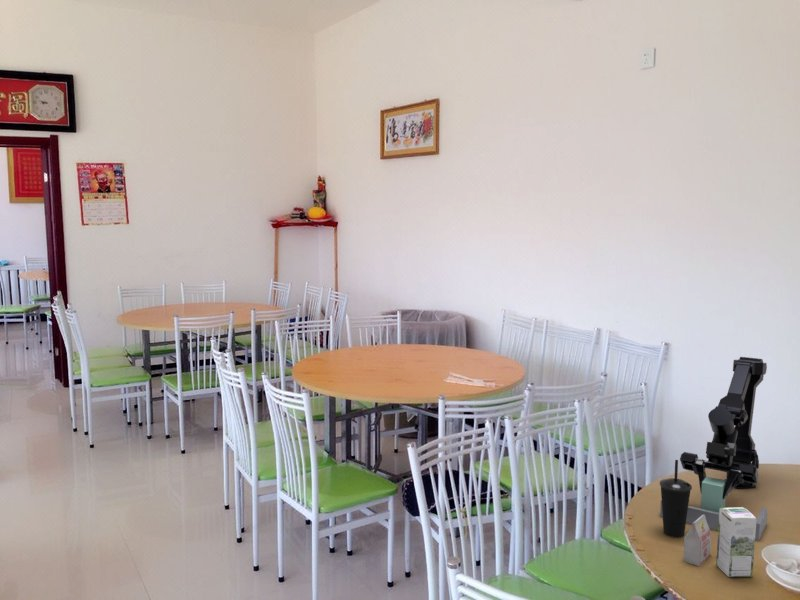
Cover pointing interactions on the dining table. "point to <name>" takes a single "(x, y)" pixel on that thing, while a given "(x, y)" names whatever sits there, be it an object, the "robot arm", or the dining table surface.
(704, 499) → the green block
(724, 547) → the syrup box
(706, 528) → the small gable top carton
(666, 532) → the drinking cup
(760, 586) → the dining table surface
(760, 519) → the open crate
